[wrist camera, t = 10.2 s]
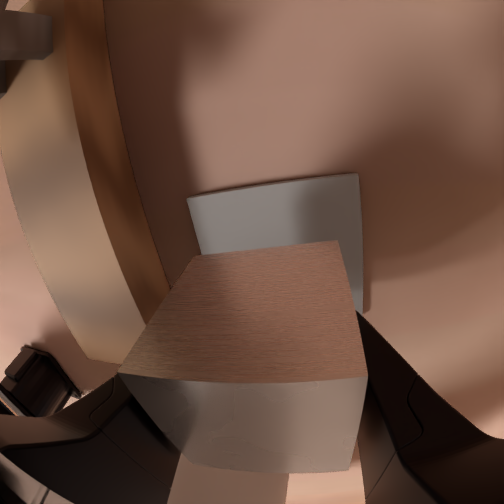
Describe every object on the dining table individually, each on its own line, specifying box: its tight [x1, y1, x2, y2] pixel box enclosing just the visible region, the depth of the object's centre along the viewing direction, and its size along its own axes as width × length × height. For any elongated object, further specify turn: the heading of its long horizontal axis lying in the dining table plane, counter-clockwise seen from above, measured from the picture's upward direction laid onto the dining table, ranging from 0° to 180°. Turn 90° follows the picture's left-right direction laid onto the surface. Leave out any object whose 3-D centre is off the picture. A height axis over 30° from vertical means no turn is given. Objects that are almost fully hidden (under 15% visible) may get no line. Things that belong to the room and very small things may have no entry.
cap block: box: [117, 240, 368, 473], centre depth 7 cm, size 4×4×5 cm
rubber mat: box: [187, 173, 363, 315], centre depth 12 cm, size 7×7×1 cm
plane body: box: [0, 0, 171, 364], centre depth 9 cm, size 20×6×7 cm, turn 11°
